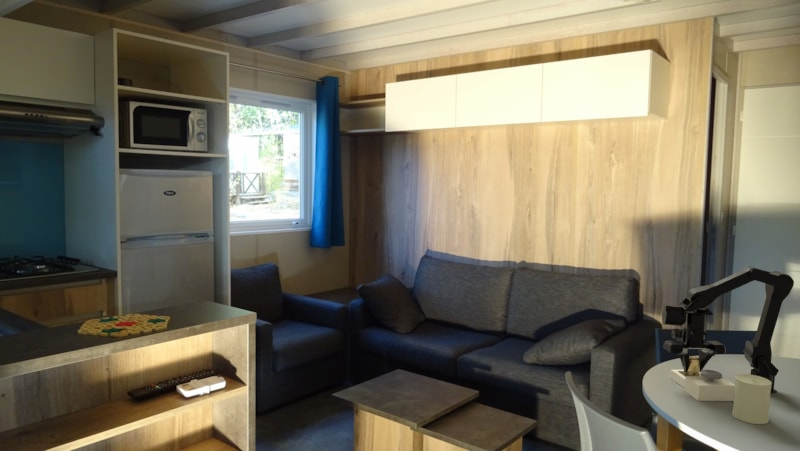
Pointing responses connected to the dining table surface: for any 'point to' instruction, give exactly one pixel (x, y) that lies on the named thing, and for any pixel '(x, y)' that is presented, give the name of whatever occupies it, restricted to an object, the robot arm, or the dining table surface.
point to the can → (751, 399)
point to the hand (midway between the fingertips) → (692, 371)
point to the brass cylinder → (693, 366)
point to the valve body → (705, 385)
